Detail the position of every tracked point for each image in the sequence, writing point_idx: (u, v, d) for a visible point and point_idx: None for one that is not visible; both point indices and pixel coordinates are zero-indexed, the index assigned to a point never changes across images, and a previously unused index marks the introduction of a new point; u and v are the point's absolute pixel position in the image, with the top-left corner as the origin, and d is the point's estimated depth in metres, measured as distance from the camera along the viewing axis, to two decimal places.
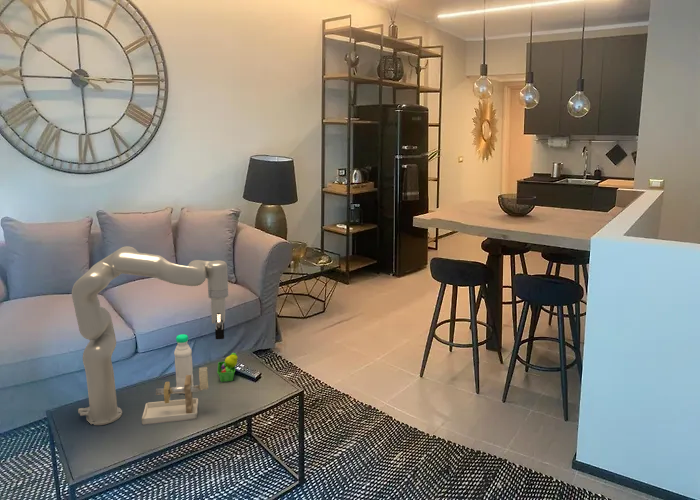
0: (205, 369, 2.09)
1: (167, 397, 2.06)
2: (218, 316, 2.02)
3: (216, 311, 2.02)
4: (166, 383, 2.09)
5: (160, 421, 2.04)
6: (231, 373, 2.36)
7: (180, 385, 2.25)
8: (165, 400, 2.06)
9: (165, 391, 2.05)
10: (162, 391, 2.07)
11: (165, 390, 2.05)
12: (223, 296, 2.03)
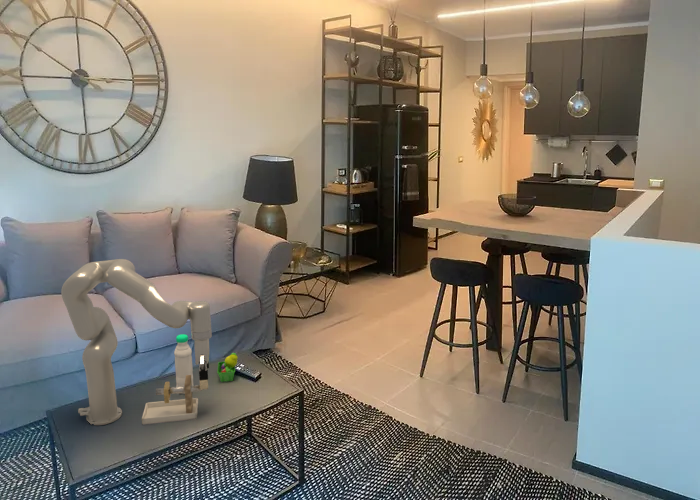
0: None
1: (167, 397, 2.06)
2: (202, 357, 2.02)
3: (199, 353, 2.02)
4: (166, 383, 2.09)
5: (160, 421, 2.04)
6: (231, 373, 2.36)
7: (180, 385, 2.25)
8: (165, 400, 2.06)
9: (165, 391, 2.05)
10: (162, 391, 2.07)
11: (165, 390, 2.05)
12: (206, 337, 2.03)
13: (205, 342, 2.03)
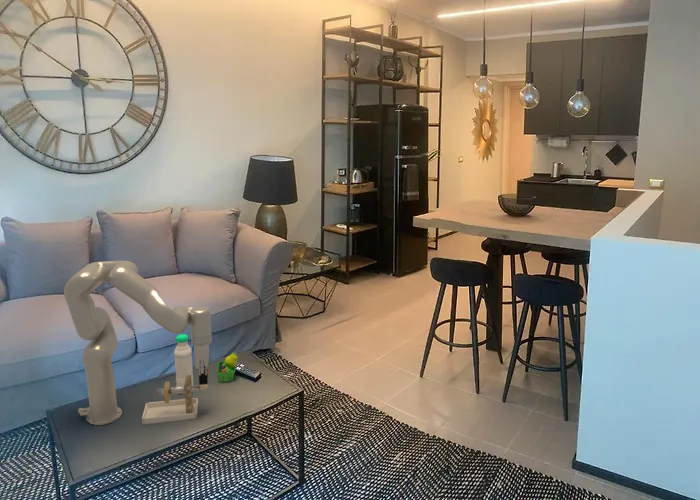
0: None
1: (167, 397, 2.06)
2: (202, 365, 2.03)
3: (199, 358, 2.03)
4: (166, 383, 2.09)
5: (160, 421, 2.04)
6: (231, 373, 2.36)
7: (180, 385, 2.25)
8: (165, 400, 2.06)
9: (165, 391, 2.05)
10: (162, 391, 2.07)
11: (165, 390, 2.05)
12: (206, 342, 2.04)
13: (205, 347, 2.03)
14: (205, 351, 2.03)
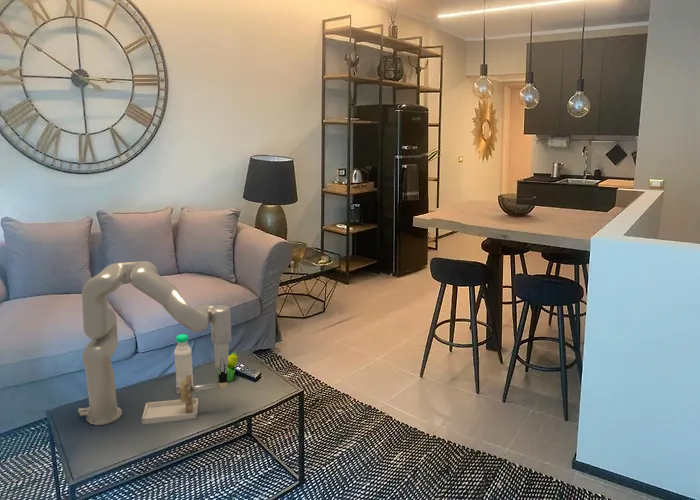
0: None
1: (184, 395, 2.07)
2: (222, 363, 2.05)
3: (219, 356, 2.04)
4: (182, 382, 2.10)
5: (160, 421, 2.04)
6: (231, 373, 2.36)
7: (180, 385, 2.25)
8: (182, 398, 2.07)
9: (182, 389, 2.06)
10: None
11: (182, 389, 2.06)
12: (226, 341, 2.05)
13: (225, 346, 2.05)
14: (225, 350, 2.05)
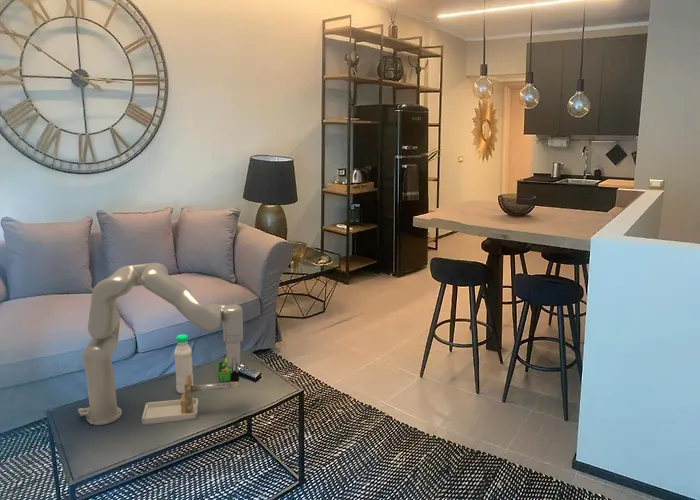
0: None
1: (184, 409, 2.08)
2: (234, 362, 2.06)
3: (231, 355, 2.05)
4: (183, 395, 2.12)
5: (160, 421, 2.04)
6: None
7: (180, 385, 2.25)
8: (182, 412, 2.08)
9: (182, 403, 2.08)
10: (194, 388, 2.09)
11: (182, 402, 2.07)
12: (238, 340, 2.06)
13: (237, 345, 2.06)
14: (237, 349, 2.06)
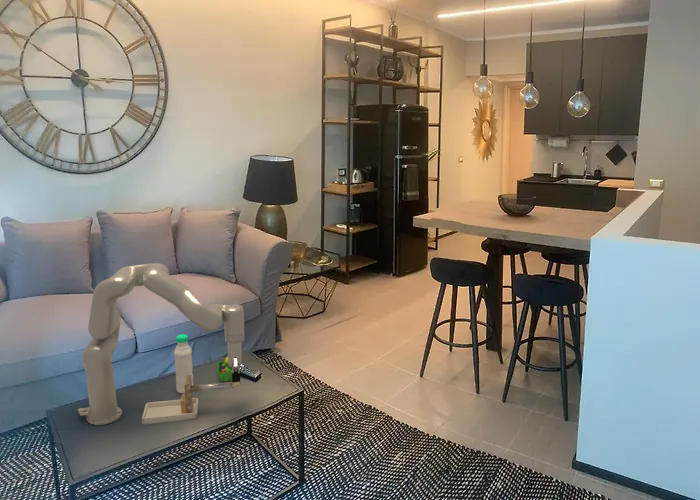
0: None
1: (184, 409, 2.08)
2: (235, 360, 2.05)
3: (233, 355, 2.05)
4: (183, 395, 2.12)
5: (160, 421, 2.04)
6: (231, 373, 2.36)
7: (180, 385, 2.25)
8: (182, 412, 2.08)
9: (182, 403, 2.08)
10: (195, 388, 2.09)
11: (182, 402, 2.07)
12: (239, 340, 2.06)
13: (238, 345, 2.06)
14: (239, 348, 2.06)
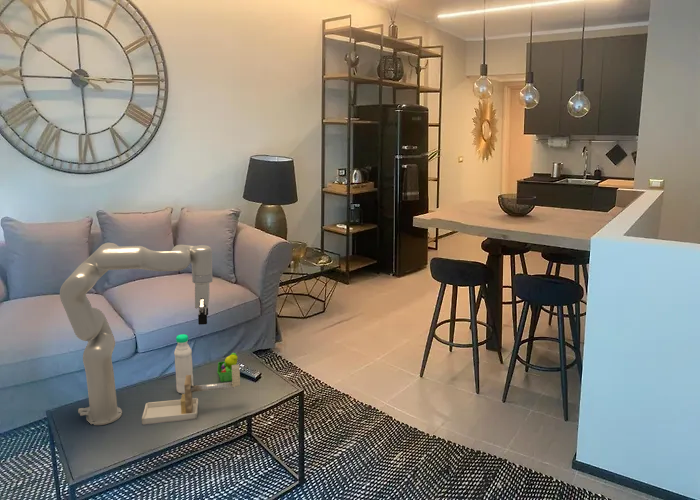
0: (237, 366, 2.12)
1: (184, 409, 2.08)
2: (201, 301, 2.01)
3: (199, 296, 2.01)
4: (183, 395, 2.12)
5: (160, 421, 2.04)
6: (231, 373, 2.36)
7: (180, 385, 2.25)
8: (182, 412, 2.08)
9: (182, 403, 2.08)
10: (195, 388, 2.09)
11: (182, 402, 2.07)
12: (207, 281, 2.02)
13: (206, 286, 2.02)
14: (206, 290, 2.02)
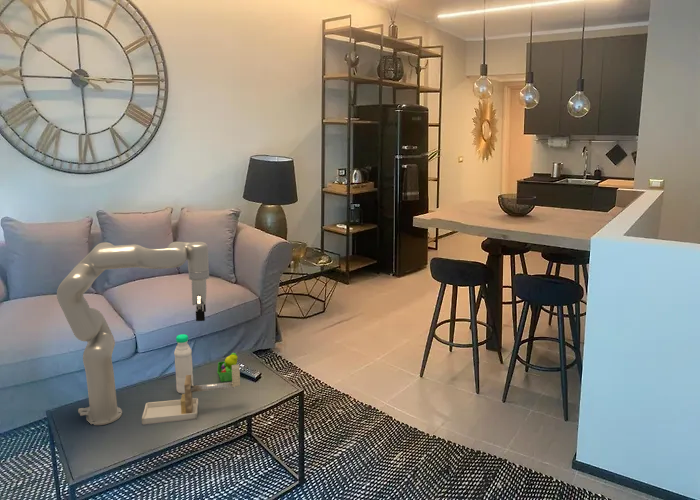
0: (237, 366, 2.12)
1: (184, 409, 2.08)
2: (199, 297, 2.01)
3: (196, 292, 2.01)
4: (183, 395, 2.12)
5: (160, 421, 2.04)
6: (231, 373, 2.36)
7: (180, 385, 2.25)
8: (182, 412, 2.08)
9: (182, 403, 2.08)
10: (195, 388, 2.09)
11: (182, 402, 2.07)
12: (203, 278, 2.02)
13: (202, 282, 2.01)
14: (202, 286, 2.02)
